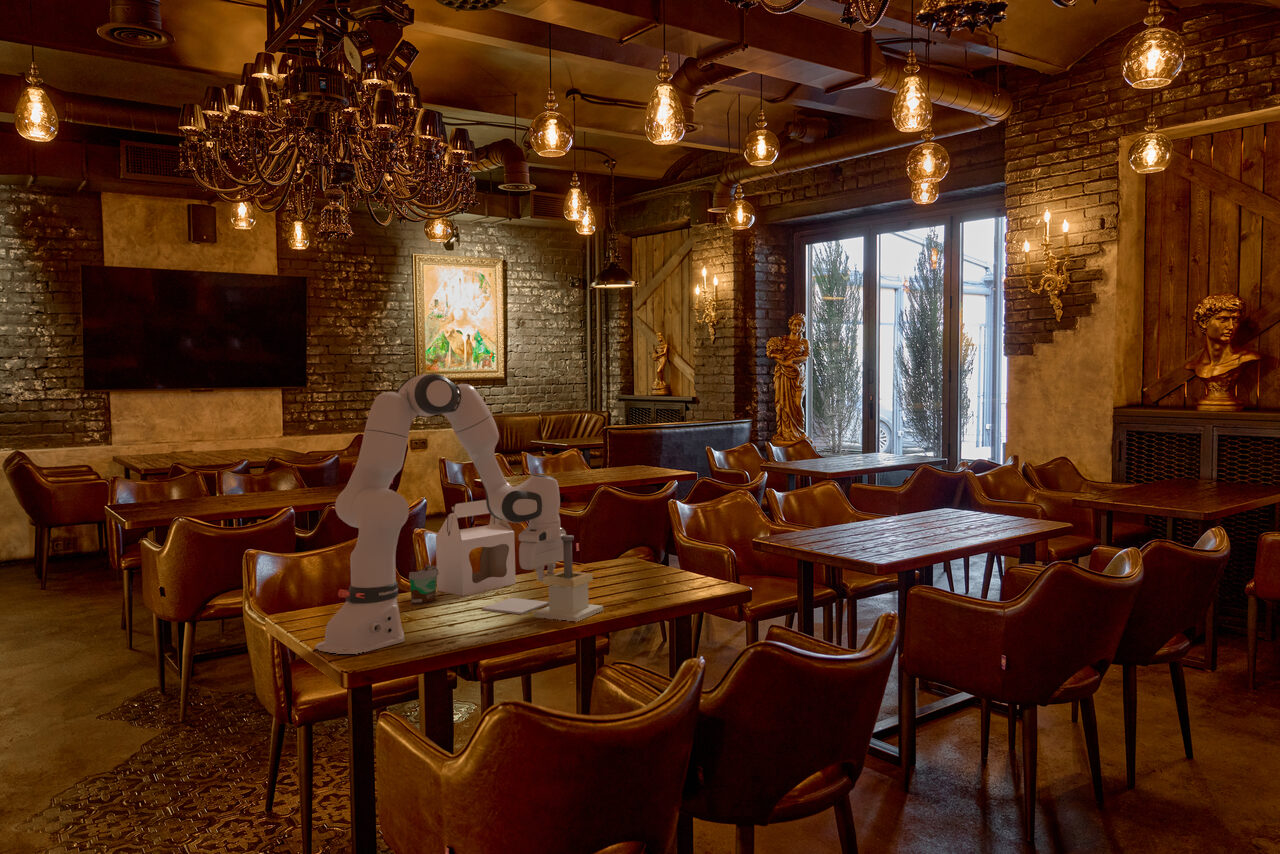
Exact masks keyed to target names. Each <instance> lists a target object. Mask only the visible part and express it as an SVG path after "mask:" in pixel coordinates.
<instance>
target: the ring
mask: <svg viewBox="0 0 1280 854" xmlns="http://www.w3.org/2000/svg"><path fill="white" fill-rule="evenodd" d="M546 572H547V571H546ZM546 572H545V571H544V574H546V576H545V577H543V582H542V584H543V585H546V586H547V585H548V586H549V585H554V586H564V587H576V586H579V585H582V584H585V583H587V582H588V583H589V582H592V581H594V578H593V573H589V572H582V571H580V572H578V571H573V578H564V570H561V571H558V572H556V573H555V572H553V573H546ZM536 581H539V580H538V574H537V573H536Z"/></svg>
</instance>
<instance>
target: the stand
mask: <svg viewBox="0 0 1280 854" xmlns="http://www.w3.org/2000/svg"><path fill="white" fill-rule="evenodd" d="M561 540H562V541H563V553H564V560H563V571H564V578H573V572H574V571H573V541H574V540H575V536H574V535H572V534H571V535H570V534H569V535H568V534H566V535H564V536H561ZM589 600H590V599H589V582H587V583H585V584H582V585H579V586H576V587H564V586H554V585H548V602H549V604H548V606H546V607H544V608H541V609H540V608H539V609H538V610H534V612H533V617H534V618H536V619H537V618H538V619H544V618H546V619H548V620H553V619H556V620H555V621H561V620H567V621H566V622H569V621H576V622H575V623H578V622H577V621H579V622H581V621H583V620H582V619H584V620H586V619H588V618H590V617H589V616H591V617H592V615H593V616H595V615H597V614H596V613H598V614H599V612H600V613H602V612H604V605H598V604H589V602H590V601H589ZM601 611H602V612H601ZM594 614H595V615H594ZM587 617H588V618H587ZM585 618H586V619H585ZM546 619H545V620H546ZM557 619H558V620H557ZM580 620H581V621H580Z"/></svg>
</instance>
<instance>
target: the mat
mask: <svg viewBox="0 0 1280 854" xmlns="http://www.w3.org/2000/svg"><path fill="white" fill-rule="evenodd" d="M545 605H546V606H547V605H548V606H549V601H543V600H542V601H541V600H537V599H525V598H517V597H516V598H515V597H509V598H506V599H504V600H503V599H502V600H501V601H498V602H495V603H492V604H489V605H487V606H483V607H481V610H482V611H489V612H496V613H505V614H514V615H524V614H527V613H530V612H532V611H536V610H537V609H538V610H539V609H540V608H541V609H542V607H545Z"/></svg>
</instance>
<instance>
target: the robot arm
mask: <svg viewBox="0 0 1280 854" xmlns="http://www.w3.org/2000/svg"><path fill="white" fill-rule="evenodd" d="M436 415H437V416H438V415H442V416H444V417H445V418H446V419H447V421H448V422H449V423H450V425H451V428H452V429H453V431H454V435H456V438H457V439H458V441H459V443H460V444H461V446H462V447H463V449H464V450H465V452H466V453H467V455H468V457H469V458H470V459H471V461H472V463H473V466H474V468H475V471H476V473H477V475H478V477H479V479H480V481H481V483H482V485H483V489H484V490H485V500H486V504H487V508H488V511H489V513H488V514H490V516H491V515H492V516H493V517H495V518H497V519H499V520H506V521H508V522H509V523H512V524H513V523H514V524H520V523H523V522H528V523H529V524H528V525H527V526H526V528H524V529H523V530H522V531H521V532H520V533H519V534H518V541H519V542H520V544H519V548H518V560H519V562H518V563H519V567H520V568H521V569H523V570H527V571H528V570H529V571H530V570H531V571H532V570H534V569H535V572H536V575H537V574H538V580H537V581H538V582H542V583H543V577H545V576H546V574H544V572H545V571H544V570H545V566H547V569H546V573H555V572H554V571H555V569H556V563H557V562H562V561H564V553H563V541H562V540H561V536H564V535H567V531H566V530H565V529H564V527H561V517H560V511H559V510H560V508H561V497H560V495H561V494H560V488H559V487H560V486H559V483H558V480H557V479H556V478H555V477H553V476H549V475H544V474H532V475H530V477H529V478H527V479H526V480H524V481H523V482H522V483H520V484H517V485H515V486H512V485H511V484H510V483H509V482H508V481H507V479H506V478H505V476H504V474H503V472H502V469H501V467H500V464H499V462H498V461H497V458H496V454H495V451H496V450H495V449H496V446H497V444H498V442H499V439H500V434H499V430H498V426H497V423H496V421H495V419H494V417H493V415H492V413H491V410H490V409H489V407H488V405H487V403H486V402H485V400H484V399H483V397H482V396H481V395H480V393H479V392H478V391H477V389H476V388H475V387H474V386H472V385H471V384H468V383H458V384H456V383H454V382H453V381H452V380H450V379H449V378H448V377H446V376H444V375H442V374H438V373H429V374H426V373H425V374H420V375H416V376H413V377H411V378H408V379H406V380H405V381H404V382H403V383H402V384H401V385H400V386H399V387H398V389H396V391H395V392H394V391H386V392H382V393H380V394H378V395H377V396H376V397H375V399H374V401H373V403H372V405H371V407H370V411H369V413H368V417H367V419H366V423H365V426H364V427H365V428H364V433H363V437H362V441H361V442H362V443H361V445H360V450H359V454H358V458H357V462H356V465H355V467H354V469H353V471H352V473H351V476H350V478H349V480H348V482H347V485H346V486H345V487H344V489H343V490H342V491H341V492H340V493H339V494H338V496H337V497H336V500H335V506H334V510H335V512H336V515H337V517H338V518H339V519H340V520H342V522H343V523H345V524H347V525H348V526H349V527H353V528H357V529H358V534H357V540H356V544H355V546H354V549H353V550H352V551H351V553H350V558H349V561H350V585H349V588H348V590H347V589H343V588H342V589H339V590H338V592H337V596H338V597H339V598H344V599H345V603H344V604H343V605H342V606H341V607H340V608H339V609H338V611H337V612H336V613H335V614H334V616H332V617H331V618H330V619H329V621H328V622H327V623H326V626H325V636H324V641H321V642H319V643H316V644H315V647H314V648H316V649H318V650H321V651H325V652H329V653H337V654H356V655H359V654H358V653H360V654H363V653H362V652H364V653H366V652H370V651H374V650H378V649H382V648H385V647H389V646H393V645H398V644H400V643H404V642H405V633H404V629H403V626H402V621H401V614H400V608H399V604H398V596H399V584H398V583H399V582H398V581H397V579H396V578H397V577H396V576H397V575H396V574H397V573H396V572H397V571H396V556H397V555H396V553H397V552H396V551H397V545H398V541H399V536H400V532H401V529H402V528H403V526H404V525H405V524H406V522H407V521H408V519H409V515H410V506H409V503H408V502H407V500H406V498H405V497H404V496H403V495H401V494H399V493H398V492H396V491H394V490H393V489H390V486H391V484H392V482H393V480H394V479H395V476H396V475H398V473H399V472H400V471H401V470H402V468H403V466H404V461H405V457H406V456H405V454H406V450H407V447H408V446H407V445H408V440H409V435H410V428H411V426H412V423H413V421H414V419H415V418H416V417H432V416H436ZM316 649H315V650H316ZM318 650H317V651H318ZM329 653H328V654H329ZM337 654H336V655H337Z"/></svg>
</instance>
